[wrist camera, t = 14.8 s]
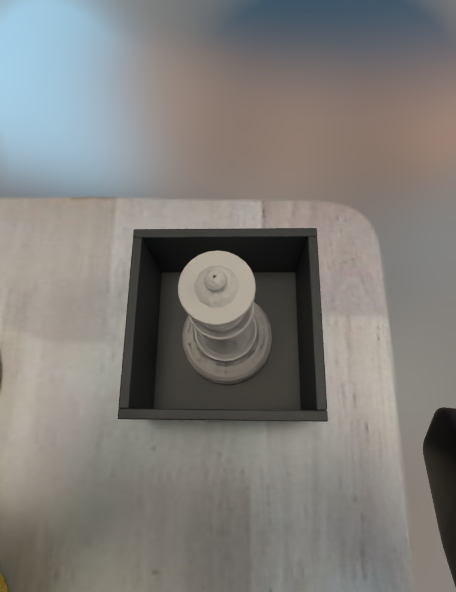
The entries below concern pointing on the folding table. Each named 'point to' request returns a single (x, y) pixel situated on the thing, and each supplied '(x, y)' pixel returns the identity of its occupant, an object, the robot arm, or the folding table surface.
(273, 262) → the bin
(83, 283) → the folding table surface
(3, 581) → the flower pot
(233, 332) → the chess piece
